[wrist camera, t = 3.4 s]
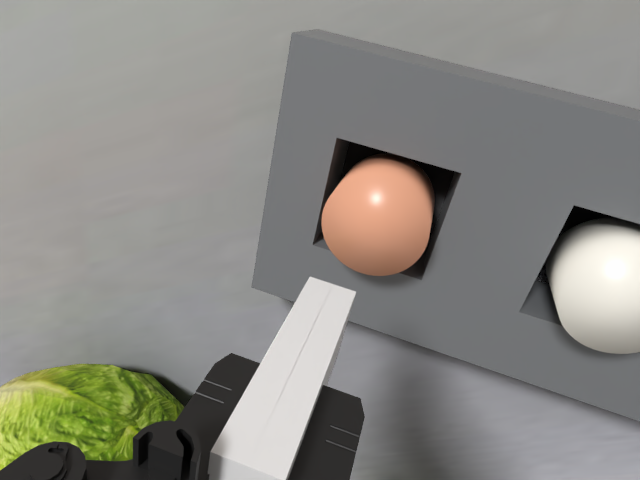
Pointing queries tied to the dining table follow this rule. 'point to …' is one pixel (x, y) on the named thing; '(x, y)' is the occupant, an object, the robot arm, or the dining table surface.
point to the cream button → (598, 284)
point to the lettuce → (81, 410)
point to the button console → (454, 204)
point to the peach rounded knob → (380, 215)
